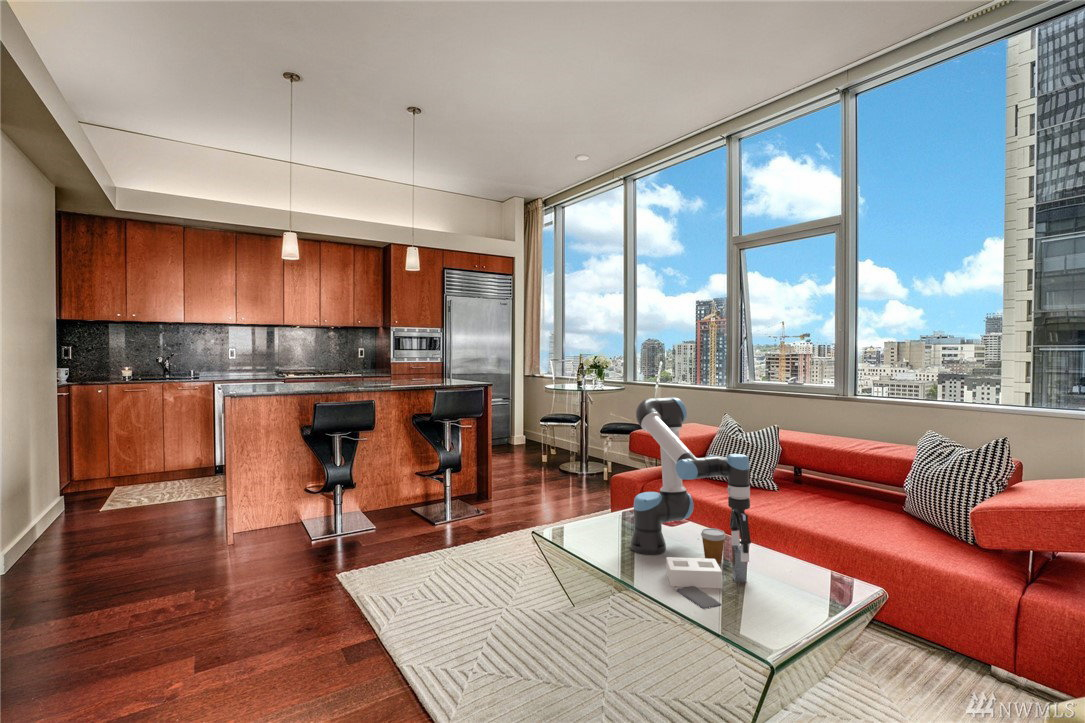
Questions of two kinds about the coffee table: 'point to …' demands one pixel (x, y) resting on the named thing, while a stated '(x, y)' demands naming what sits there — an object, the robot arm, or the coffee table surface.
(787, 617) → the coffee table surface
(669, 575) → the socket box
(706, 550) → the disposable coffee cup
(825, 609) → the coffee table surface
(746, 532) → the robot arm
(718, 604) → the smartphone
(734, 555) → the plug
